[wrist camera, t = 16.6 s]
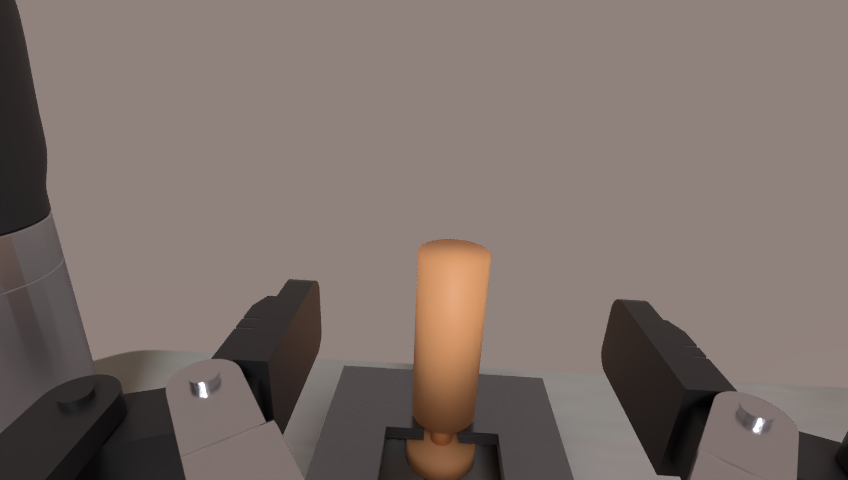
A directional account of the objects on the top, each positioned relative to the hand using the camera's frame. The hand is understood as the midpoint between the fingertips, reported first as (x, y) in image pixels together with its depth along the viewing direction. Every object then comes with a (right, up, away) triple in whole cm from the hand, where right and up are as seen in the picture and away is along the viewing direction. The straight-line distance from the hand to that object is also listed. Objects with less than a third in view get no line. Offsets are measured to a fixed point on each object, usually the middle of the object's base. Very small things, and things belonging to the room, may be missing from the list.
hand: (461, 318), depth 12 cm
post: (0, -14, +21) cm, 25 cm away
